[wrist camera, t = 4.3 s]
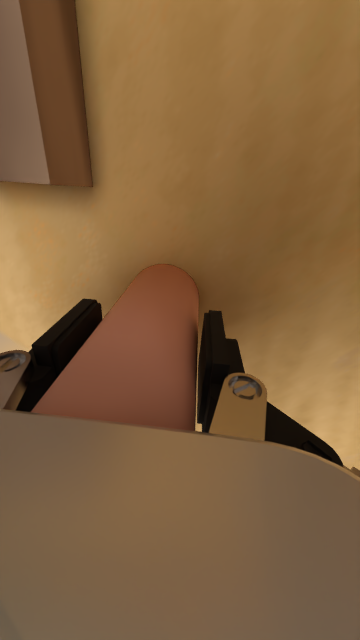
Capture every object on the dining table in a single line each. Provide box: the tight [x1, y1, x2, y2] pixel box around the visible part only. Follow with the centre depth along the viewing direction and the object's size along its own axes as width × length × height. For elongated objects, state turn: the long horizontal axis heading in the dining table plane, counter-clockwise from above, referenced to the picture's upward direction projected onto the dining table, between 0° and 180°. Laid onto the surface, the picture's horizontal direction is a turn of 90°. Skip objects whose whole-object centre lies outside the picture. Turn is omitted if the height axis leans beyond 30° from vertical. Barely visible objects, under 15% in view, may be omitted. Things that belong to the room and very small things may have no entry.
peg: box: [31, 264, 199, 431], centre depth 10 cm, size 4×4×12 cm
